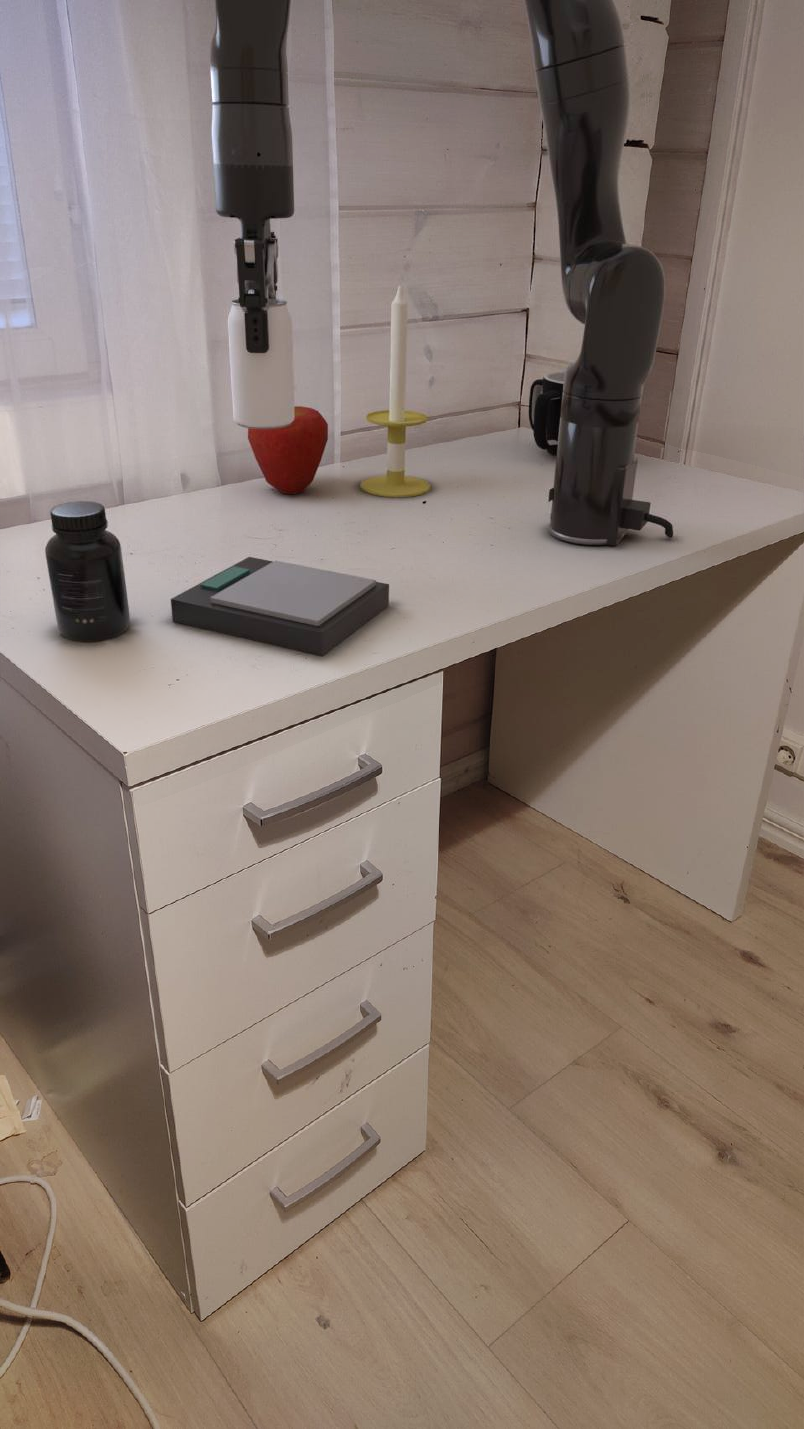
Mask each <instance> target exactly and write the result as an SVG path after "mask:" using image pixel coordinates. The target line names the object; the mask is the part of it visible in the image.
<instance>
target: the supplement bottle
mask: <svg viewBox="0 0 804 1429" xmlns="http://www.w3.org/2000/svg"><path fill="white" fill-rule="evenodd" d="M49 514H50V518H51V519H50V520H51V530H52V532H53V533H54V535H52V537H50V538H49V539H48V541H47V542H46V545H45V547H44V553H45V560H46V566H47V573H48V577H49V583H50V590H51V591H50V592H51V596H52V602H53V608H54V614H55V620H56V624H57V629H58V631H59V633H60V634H61V635H62V636H64V637H65V638H67V639H70V640H72V641H76V642H77V641H78V642H97V641H98V642H99V641H104V640H108V639H112V638H115V637H117V636H119V635H121V634H123V633H124V632H125V631H126V630H127V629H128V628H129V626H130V623H131V616H130V615H131V614H130V607H129V598H128V590H127V583H126V574H125V567H124V560H123V553H122V552H123V550H122V545H121V542H120V540H119V538H118V537H117V535H115V534H114V533H112V532H111V531H109V530H107V529H108V527H109V523H108V519H107V515H106V508H105V506H104V505H103V504H102V503H99V502H95V501H87V500H79V501H78V500H77V501H76V500H75V501H70V502H65V503H60V504H57V505H56V506H53V507H52V508H51V509H50V513H49Z"/></svg>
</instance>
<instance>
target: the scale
mask: <svg viewBox="0 0 804 1429" xmlns="http://www.w3.org/2000/svg"><path fill="white" fill-rule="evenodd" d="M389 601H390V583H385V582H380V581H377V580H376V579H372V578H367V577H363V576H357V575H353V574H347V573H341V572H337V571H331V570H326V569H322V568H316V567H312V566H305V565H301V564H296V563H290V562H286V561H281V560H268V559H263V558H258V557H254V556H253V557H252V556H248V557H246V558H244V559H242V560H241V561H238V562H237V563H235V564H233V565H231V566H229V567H227V568H226V569H224V570H222V571H220V572H218V573H217V574H215V575H213V576H211V577H209V578H207V579H205V580H203V581H202V582H200V583H198V584H196V585H194V586H192V587H191V588H188V589H187V590H184V591H183V592H181V593H180V594H178V595H176V596H174V597H172V598H170V607H171V618H172V622H173V623H178V624H182V625H187V626H191V627H195V628H199V629H204V630H207V631H213V632H216V633H222V634H225V635H229V636H235V637H237V638H238V637H239V638H242V639H246V640H251V641H256V642H260V643H264V644H268V645H273V646H276V647H277V646H278V647H282V648H286V649H290V650H294V651H298V652H303V653H307V654H312V655H316V656H319V657H320V656H321V657H324V656H326V654H328V653H329V652H330V651H332V650H333V649H334V648H335V647H337V646H338V645H339V644H340V643H342V642H343V641H344V640H345V639H347V638H349V637H350V636H351V635H352V634H354V633H355V632H357V630H359V629H360V628H362V627H364V625H365V624H367V623H368V622H370V620H373V619H374V618H375V617H376V616H377V615H379V614H380V613H381V612H383V611H384V610H385V609H386V608H387V607H389V606H390V602H389Z"/></svg>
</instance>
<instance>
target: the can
mask: <svg viewBox="0 0 804 1429" xmlns="http://www.w3.org/2000/svg"><path fill="white" fill-rule="evenodd" d="M268 303H269V309H268V333H269V349H268V351H267V352H266V353H250V352H248V351H247V349H246V336H245V316H244V313H245V312H243V310H242V308H241V307H240V303H239V301H238V298H237V299H232V300H230V304H231V308H230V311H229V314H228V316H227V333H228V334H227V335H228V351H229V352H228V354H229V372H230V386H231V401H232V402H231V404H232V416H233V421H234V422H235V423H236V424H237V426H239V427H242V428H246V429H248V428H252V429H276V428H282V427H286V426H289V425H291V423H292V421H294V407H295V382H294V378H295V377H294V346H293V345H294V343H293V322H292V321H293V320H292V316H291V314H290V312H289V310H288V307H287V304H288V301H287V300H284V299H280V298H279V299H278V298H276V299H268Z"/></svg>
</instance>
